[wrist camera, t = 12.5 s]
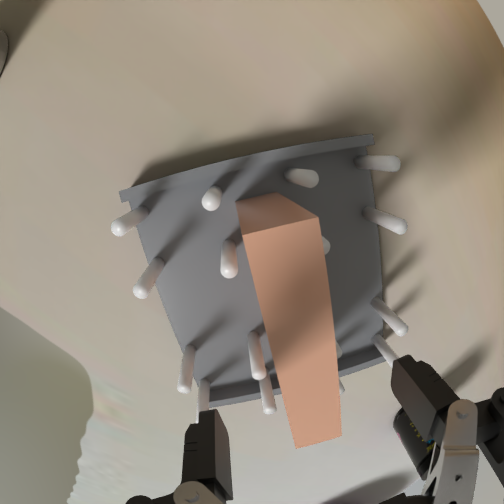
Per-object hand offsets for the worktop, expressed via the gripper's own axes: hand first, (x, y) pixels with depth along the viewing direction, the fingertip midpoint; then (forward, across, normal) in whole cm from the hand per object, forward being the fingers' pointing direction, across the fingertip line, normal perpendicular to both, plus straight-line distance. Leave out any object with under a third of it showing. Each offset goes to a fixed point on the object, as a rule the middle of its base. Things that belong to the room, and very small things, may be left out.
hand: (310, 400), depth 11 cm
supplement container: (+13, -16, +25) cm, 32 cm away
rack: (+13, -1, 0) cm, 13 cm away
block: (+12, 0, 0) cm, 12 cm away
